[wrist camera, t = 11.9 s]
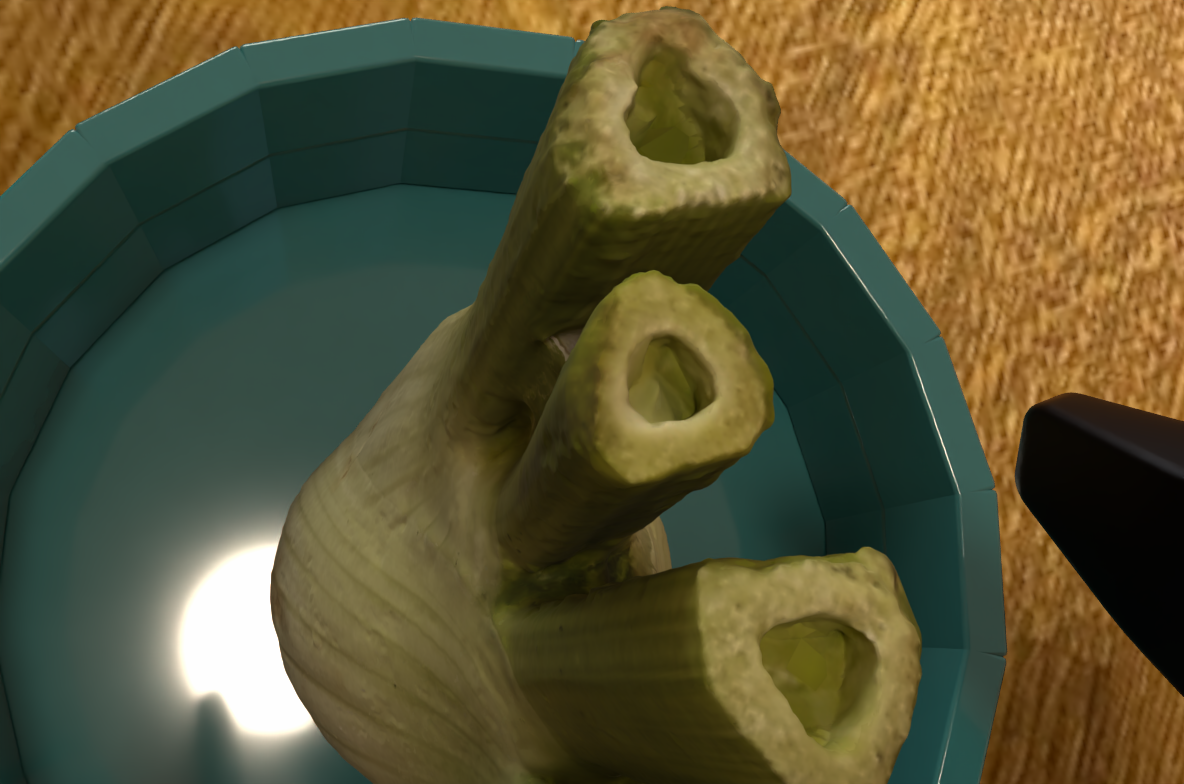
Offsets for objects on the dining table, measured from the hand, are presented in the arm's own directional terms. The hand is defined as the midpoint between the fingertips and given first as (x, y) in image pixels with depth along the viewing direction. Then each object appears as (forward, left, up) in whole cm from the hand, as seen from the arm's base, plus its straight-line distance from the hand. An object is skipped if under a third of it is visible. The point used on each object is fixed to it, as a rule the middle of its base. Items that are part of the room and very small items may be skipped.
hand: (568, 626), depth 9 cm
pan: (+1, 0, -8) cm, 8 cm away
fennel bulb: (+1, 0, -8) cm, 8 cm away
